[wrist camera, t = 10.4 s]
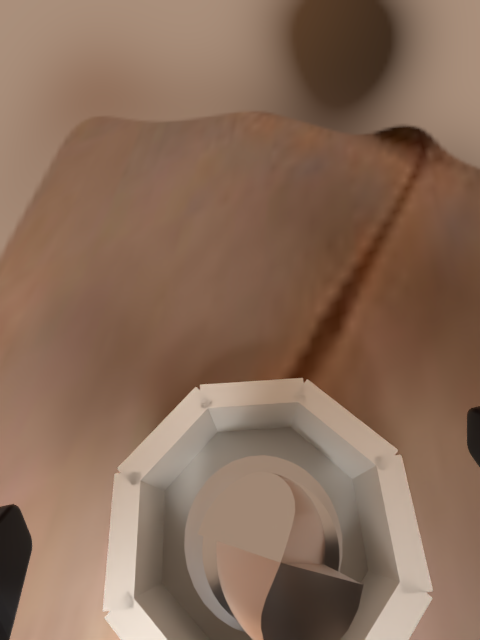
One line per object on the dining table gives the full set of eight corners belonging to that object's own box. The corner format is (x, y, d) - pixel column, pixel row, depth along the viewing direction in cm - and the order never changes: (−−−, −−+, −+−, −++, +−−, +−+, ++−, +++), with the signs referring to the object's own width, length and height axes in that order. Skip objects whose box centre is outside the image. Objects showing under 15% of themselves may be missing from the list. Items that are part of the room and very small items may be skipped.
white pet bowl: (369, 388, 17) (398, 351, 14) (436, 701, 12) (506, 768, 9) (134, 404, 17) (102, 371, 14) (113, 719, 13) (56, 793, 9)
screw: (318, 641, 13) (175, 594, 14) (340, 483, 15) (215, 449, 16) (860, 1628, 1) (-293, 960, 2) (620, 325, 3) (99, 226, 4)
